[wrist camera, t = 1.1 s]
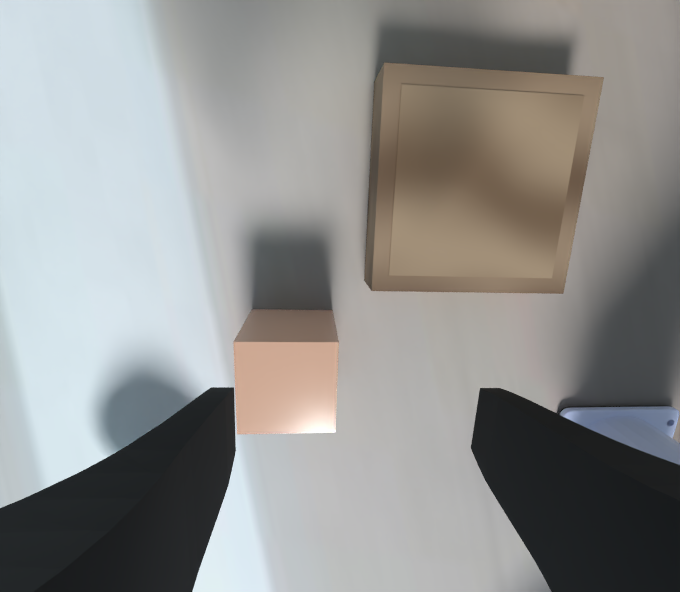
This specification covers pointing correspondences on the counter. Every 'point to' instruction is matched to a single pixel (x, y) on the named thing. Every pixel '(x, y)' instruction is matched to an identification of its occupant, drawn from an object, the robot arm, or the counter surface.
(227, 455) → the robot arm
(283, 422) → the peach tan block
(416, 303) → the counter surface
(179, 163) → the counter surface
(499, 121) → the tan brown tray
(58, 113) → the counter surface
